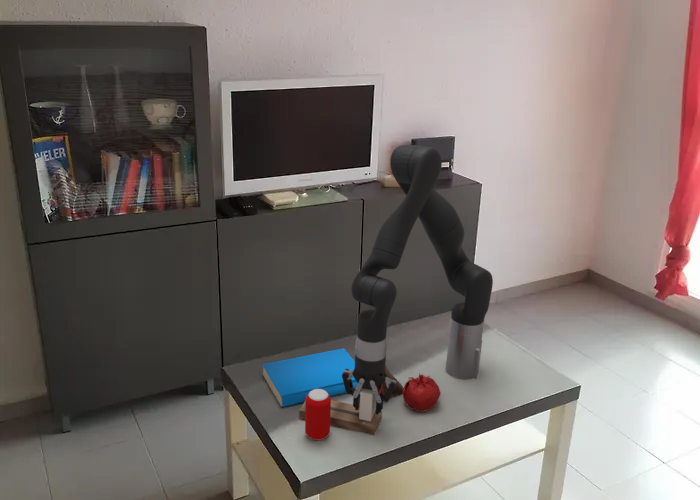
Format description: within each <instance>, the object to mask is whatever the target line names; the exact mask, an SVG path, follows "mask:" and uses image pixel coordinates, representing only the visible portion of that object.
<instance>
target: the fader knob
mask: <svg viewBox="0 0 700 500" xmlns="http://www.w3.org/2000/svg"><path fill="white" fill-rule="evenodd" d="M375 409H376V397H375V395H374V393H373V390H370V389H364V388H362V389H361V391H360V411H359V419H361V420H366V421H370V422H371V420H372V418H373V415H374V413H375Z"/></svg>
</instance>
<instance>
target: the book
mask: <svg viewBox="0 0 700 500" xmlns="http://www.w3.org/2000/svg"><path fill="white" fill-rule="evenodd" d="M354 368H355V359H354V358H353V357H352V356H351V355H350V354H349V352H347V350H346V349H345V348H344V347H343V348H337V349H333V350H328V351H324V352H318V353H313V354H308V355H302V356H298V357H292V358H287V359H283V360H277V361H272V362H271V361H270V362H267V363H262V375H263V377H264V379H265V381H266V383H267V384H268V386H269V389H271V391H272V393H273V394H274V396H276V397H275V398H276V401H278V403H279V405H280V407H281V408H283V407H288V406H289V407H290V406H294V405H296V404H301V403H304V402H305V400H306V397H307V395H308V393H309V392H310V391H312V390H314V389H322V390H325V391H326V392H327V393H328V394H329V396H330V397H333V396H338V395H341V394H347V393H346V390H345V386H344V382H343V378H342V374H343V372H344V370H345V369H349V371H350V370H354ZM351 380H352V384H353V388H355V389H356V387H357V385H358V383H357V381H356V380H355V378H354V377H353V376H352V378H351ZM361 390H362V388H361Z"/></svg>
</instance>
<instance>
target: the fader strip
mask: <svg viewBox="0 0 700 500" xmlns="http://www.w3.org/2000/svg"><path fill="white" fill-rule="evenodd" d="M305 405H306V400H305V402H303V404H302V405H301V407H300V408H299V410H298V415H299V416H298V418H299V419H300V420H304V421H305ZM359 411H360V408H359V410H355V408H354V407H353V403H352V404H351V403H347V402H341V401H338V400H337V401H336V400H333V399H331V413H330V427H331V426H332V427H336V428H341V429H345V430H350V431H354V432H357V433H359V432H360V433H363V434H368V435H371V436H375V435H376V433H377V431H378V429H379V426H380V424H381V422H382V419H383V410H382V411H381V413H379V414H378V415H377V414H375V413H374V415H373V418H372V420H371V422H370V421H366V420H361V419H359ZM375 411H376V408H375Z"/></svg>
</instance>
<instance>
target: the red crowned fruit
mask: <svg viewBox="0 0 700 500" xmlns="http://www.w3.org/2000/svg"><path fill="white" fill-rule="evenodd" d="M401 395H402V398H403V401H404V404H405V405H407V407H408V408H409V409H412V410H416V411H418V412H426V411H429V410H431V409H432V408H434V406H435V405H437V403H438V402H439V399H440V397H441V389H440V386H439V385H438V383H437V382H436V381H435V379H433V378H432V377H431V376H430V375H427V376H425V375H424V374H421V373H420V372H419V375H418V377H416V378H415V377H413V376H410V377H408V380H407V382H405V384H404V386H403V392H402V394H401Z"/></svg>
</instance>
